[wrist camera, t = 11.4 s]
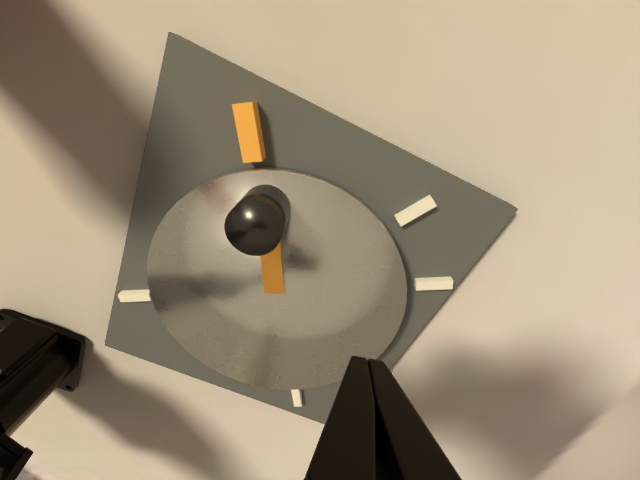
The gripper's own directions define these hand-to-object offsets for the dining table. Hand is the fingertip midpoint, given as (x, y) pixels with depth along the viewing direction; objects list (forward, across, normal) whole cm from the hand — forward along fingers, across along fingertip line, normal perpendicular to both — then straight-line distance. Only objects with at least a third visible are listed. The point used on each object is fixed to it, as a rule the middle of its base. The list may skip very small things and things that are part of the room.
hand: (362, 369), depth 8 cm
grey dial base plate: (+12, +4, +6) cm, 14 cm away
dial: (+11, +3, +6) cm, 13 cm away
